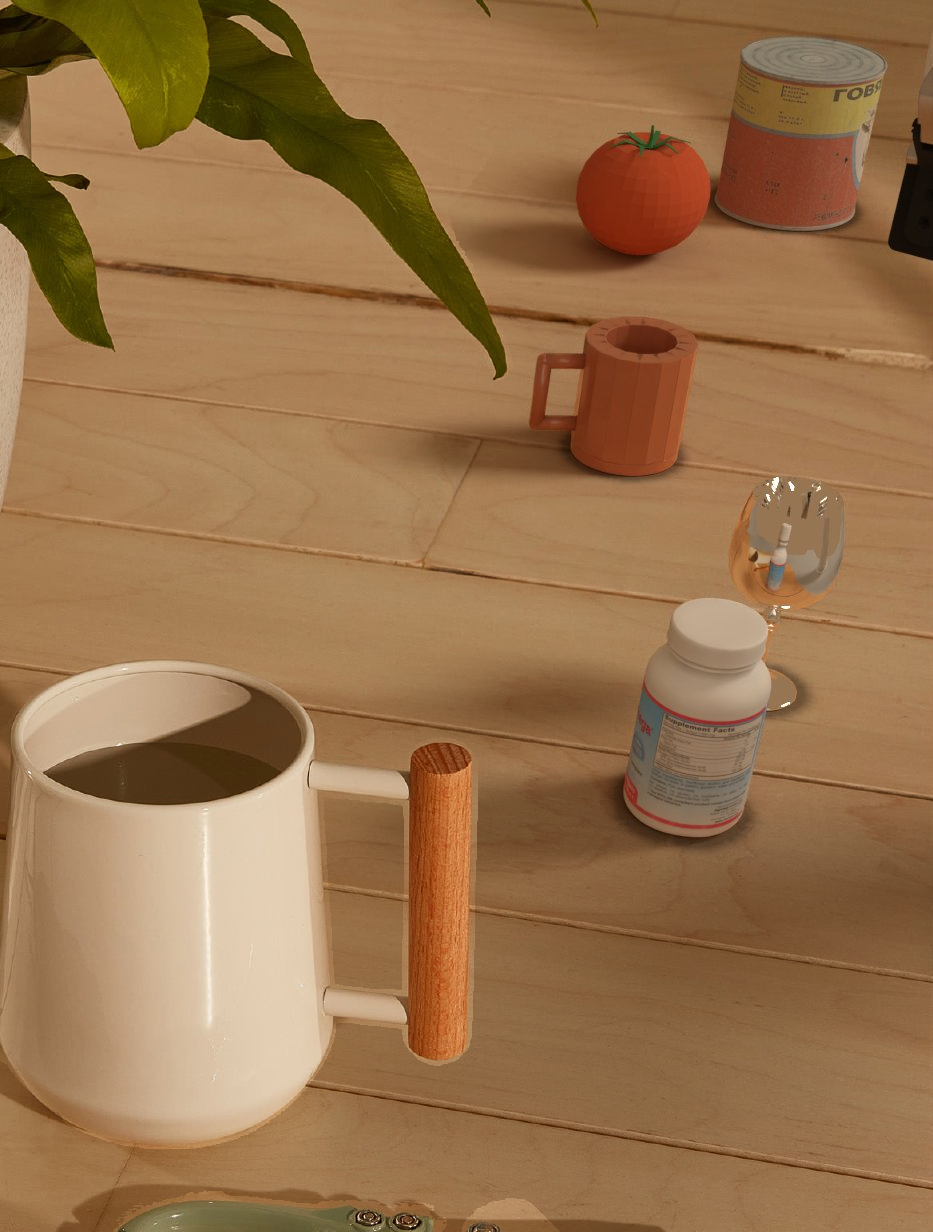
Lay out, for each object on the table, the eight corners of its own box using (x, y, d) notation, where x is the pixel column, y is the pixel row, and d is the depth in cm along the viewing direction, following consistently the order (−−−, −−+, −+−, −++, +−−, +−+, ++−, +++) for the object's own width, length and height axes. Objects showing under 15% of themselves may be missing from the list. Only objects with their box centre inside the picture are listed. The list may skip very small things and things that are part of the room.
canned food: (849, 238, 164) (882, 87, 157) (706, 221, 167) (732, 72, 160) (859, 189, 173) (891, 44, 165) (723, 173, 176) (748, 30, 168)
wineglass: (686, 695, 113) (724, 504, 106) (725, 648, 117) (765, 461, 110) (786, 729, 111) (833, 536, 103) (823, 680, 114) (871, 490, 107)
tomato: (634, 216, 168) (653, 94, 162) (727, 257, 161) (750, 131, 155) (541, 244, 164) (557, 119, 158) (632, 287, 157) (653, 158, 151)
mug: (667, 427, 139) (686, 316, 134) (685, 477, 133) (706, 363, 128) (519, 425, 139) (533, 314, 134) (531, 474, 133) (546, 361, 129)
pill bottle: (638, 759, 109) (672, 577, 102) (753, 789, 106) (796, 605, 99) (607, 823, 104) (641, 637, 97) (727, 855, 102) (770, 668, 95)
